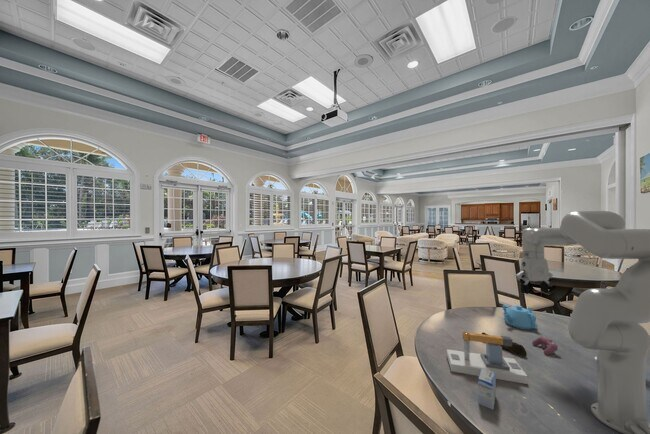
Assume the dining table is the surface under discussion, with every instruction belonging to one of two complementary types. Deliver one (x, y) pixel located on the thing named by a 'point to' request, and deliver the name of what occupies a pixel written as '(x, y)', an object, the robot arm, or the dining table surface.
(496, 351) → the blue rectangular block
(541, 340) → the video game controller
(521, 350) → the hand tool
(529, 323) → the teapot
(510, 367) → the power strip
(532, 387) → the dining table surface
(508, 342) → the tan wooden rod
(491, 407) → the medicine box
